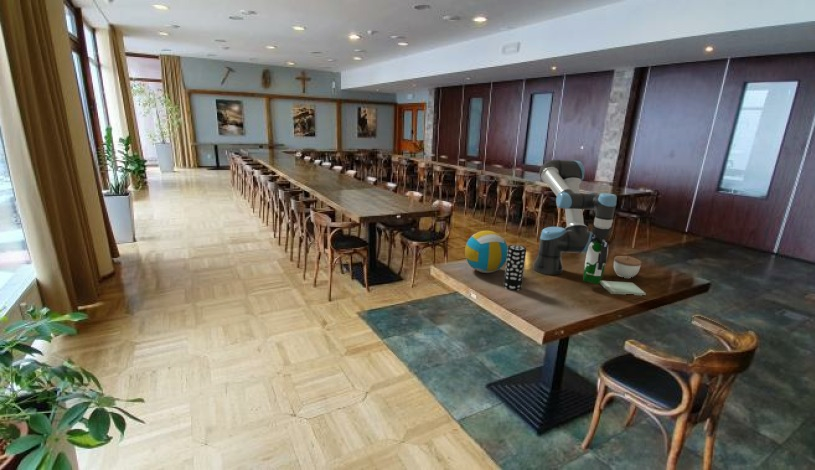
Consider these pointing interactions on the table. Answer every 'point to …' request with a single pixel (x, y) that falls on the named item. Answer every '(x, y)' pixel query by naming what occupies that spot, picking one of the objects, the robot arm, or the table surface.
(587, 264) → the soya milk
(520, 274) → the spotted tube
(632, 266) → the lidded bowl
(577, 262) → the table surface
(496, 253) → the volleyball
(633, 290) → the board
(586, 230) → the robot arm
